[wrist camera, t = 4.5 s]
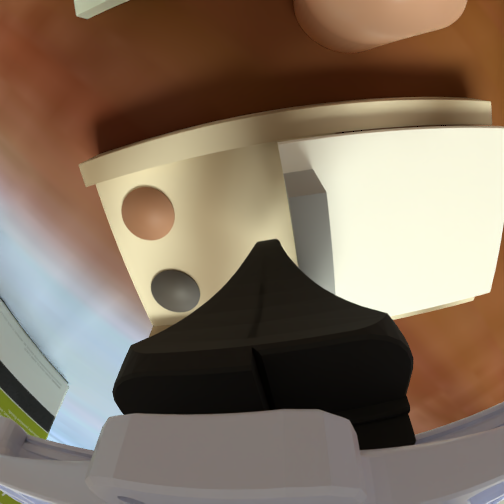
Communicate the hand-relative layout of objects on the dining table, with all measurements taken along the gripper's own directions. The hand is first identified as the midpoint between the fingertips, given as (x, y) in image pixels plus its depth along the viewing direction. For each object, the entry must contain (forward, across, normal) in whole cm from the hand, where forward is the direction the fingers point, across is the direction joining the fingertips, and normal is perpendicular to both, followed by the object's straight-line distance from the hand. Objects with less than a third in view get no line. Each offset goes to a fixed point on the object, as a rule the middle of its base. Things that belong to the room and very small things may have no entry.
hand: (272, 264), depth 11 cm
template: (+3, -2, 0) cm, 4 cm away
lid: (+1, -6, 0) cm, 6 cm away
